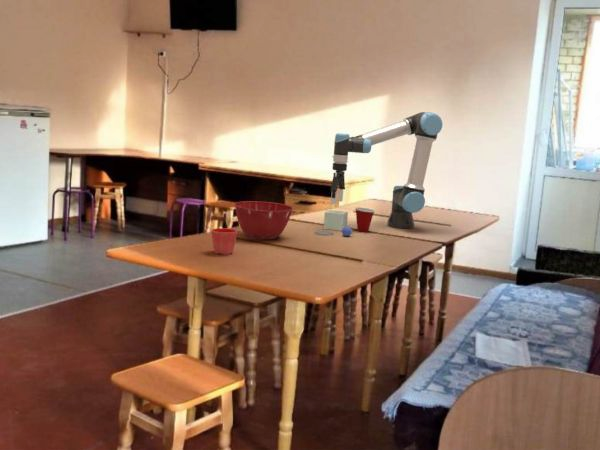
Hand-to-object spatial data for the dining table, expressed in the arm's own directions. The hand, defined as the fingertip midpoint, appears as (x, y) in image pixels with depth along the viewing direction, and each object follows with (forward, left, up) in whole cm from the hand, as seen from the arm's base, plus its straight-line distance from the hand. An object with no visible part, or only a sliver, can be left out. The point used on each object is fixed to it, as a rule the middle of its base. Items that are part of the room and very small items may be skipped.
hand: (336, 202), depth 366 cm
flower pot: (+25, +90, -14) cm, 94 cm away
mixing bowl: (+24, +47, -14) cm, 54 cm away
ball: (-11, +19, -11) cm, 25 cm away
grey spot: (+1, +19, -14) cm, 23 cm away
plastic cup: (-15, -2, -14) cm, 21 cm away
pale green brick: (0, 0, -14) cm, 14 cm away
